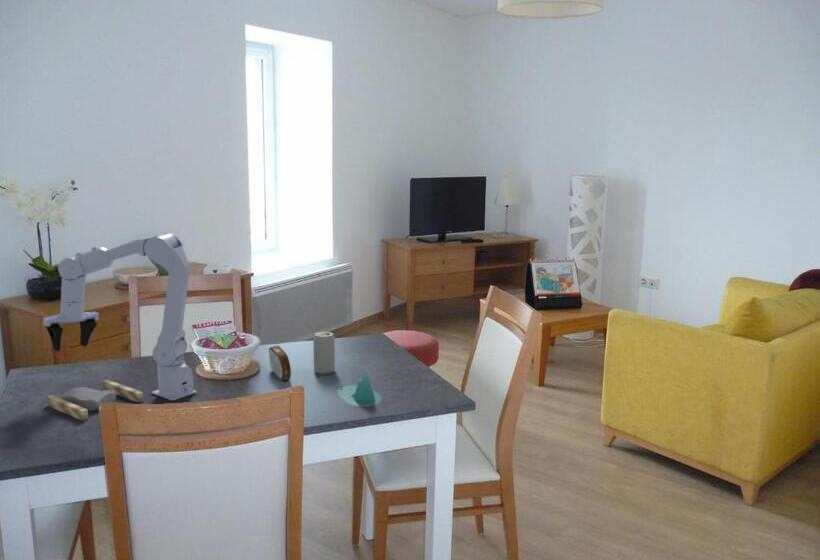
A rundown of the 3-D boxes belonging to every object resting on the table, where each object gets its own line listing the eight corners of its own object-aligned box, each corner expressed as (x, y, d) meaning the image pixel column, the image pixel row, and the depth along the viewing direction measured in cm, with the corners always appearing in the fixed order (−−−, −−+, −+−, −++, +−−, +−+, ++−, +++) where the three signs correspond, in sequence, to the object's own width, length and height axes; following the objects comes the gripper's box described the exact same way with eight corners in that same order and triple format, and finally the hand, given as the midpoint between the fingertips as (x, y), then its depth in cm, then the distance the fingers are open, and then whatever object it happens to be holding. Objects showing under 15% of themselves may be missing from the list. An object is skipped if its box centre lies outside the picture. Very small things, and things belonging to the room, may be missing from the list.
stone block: (83, 402, 190) (56, 408, 181) (84, 385, 190) (58, 389, 181) (121, 408, 188) (96, 414, 178) (122, 390, 188) (98, 395, 178)
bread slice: (292, 383, 202) (291, 355, 200) (281, 384, 200) (280, 356, 199) (277, 368, 215) (277, 342, 213) (267, 369, 214) (267, 343, 212)
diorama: (364, 382, 204) (364, 354, 202) (393, 405, 186) (394, 374, 185) (325, 388, 199) (325, 359, 197) (351, 412, 181) (351, 380, 179)
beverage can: (338, 372, 211) (338, 334, 209) (319, 376, 207) (319, 337, 205) (329, 367, 216) (328, 330, 214) (310, 370, 213) (309, 333, 210)
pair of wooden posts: (143, 401, 186) (142, 392, 186) (82, 420, 173) (81, 411, 172) (107, 387, 196) (106, 379, 196) (47, 405, 182) (46, 396, 182)
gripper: (90, 294, 197) (87, 339, 199) (38, 299, 185) (36, 347, 187) (103, 300, 193) (101, 346, 195) (51, 305, 181) (49, 355, 184)
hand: (70, 347), depth 191 cm, fingers open, 7 cm apart
